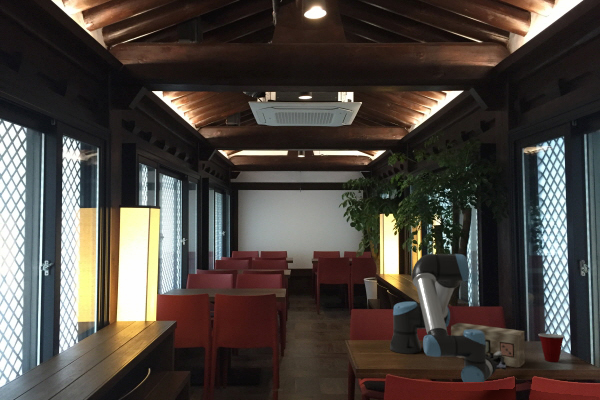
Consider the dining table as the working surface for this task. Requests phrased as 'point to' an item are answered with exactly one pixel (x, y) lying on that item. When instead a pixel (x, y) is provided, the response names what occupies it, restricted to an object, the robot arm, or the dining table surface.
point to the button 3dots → (507, 349)
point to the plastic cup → (551, 346)
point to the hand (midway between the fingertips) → (499, 354)
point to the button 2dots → (487, 346)
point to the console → (498, 341)
